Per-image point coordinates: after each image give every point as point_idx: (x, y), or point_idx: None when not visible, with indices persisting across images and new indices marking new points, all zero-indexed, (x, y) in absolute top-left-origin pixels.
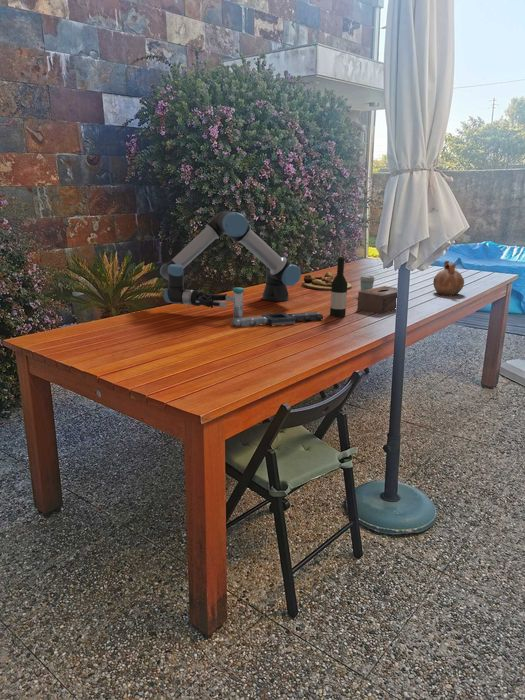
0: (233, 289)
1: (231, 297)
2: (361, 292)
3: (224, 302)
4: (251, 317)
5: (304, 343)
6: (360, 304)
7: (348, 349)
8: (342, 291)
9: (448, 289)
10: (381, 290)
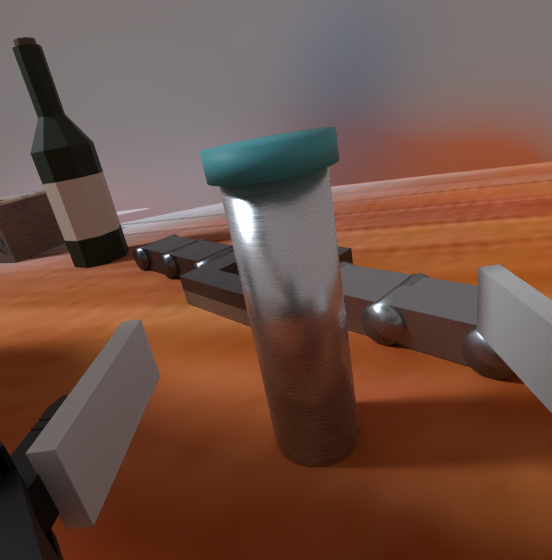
0: (327, 139)
1: (113, 385)
2: (2, 206)
3: (510, 277)
4: (371, 295)
5: (466, 197)
6: (18, 242)
7: (425, 177)
8: (100, 165)
9: None
10: None
